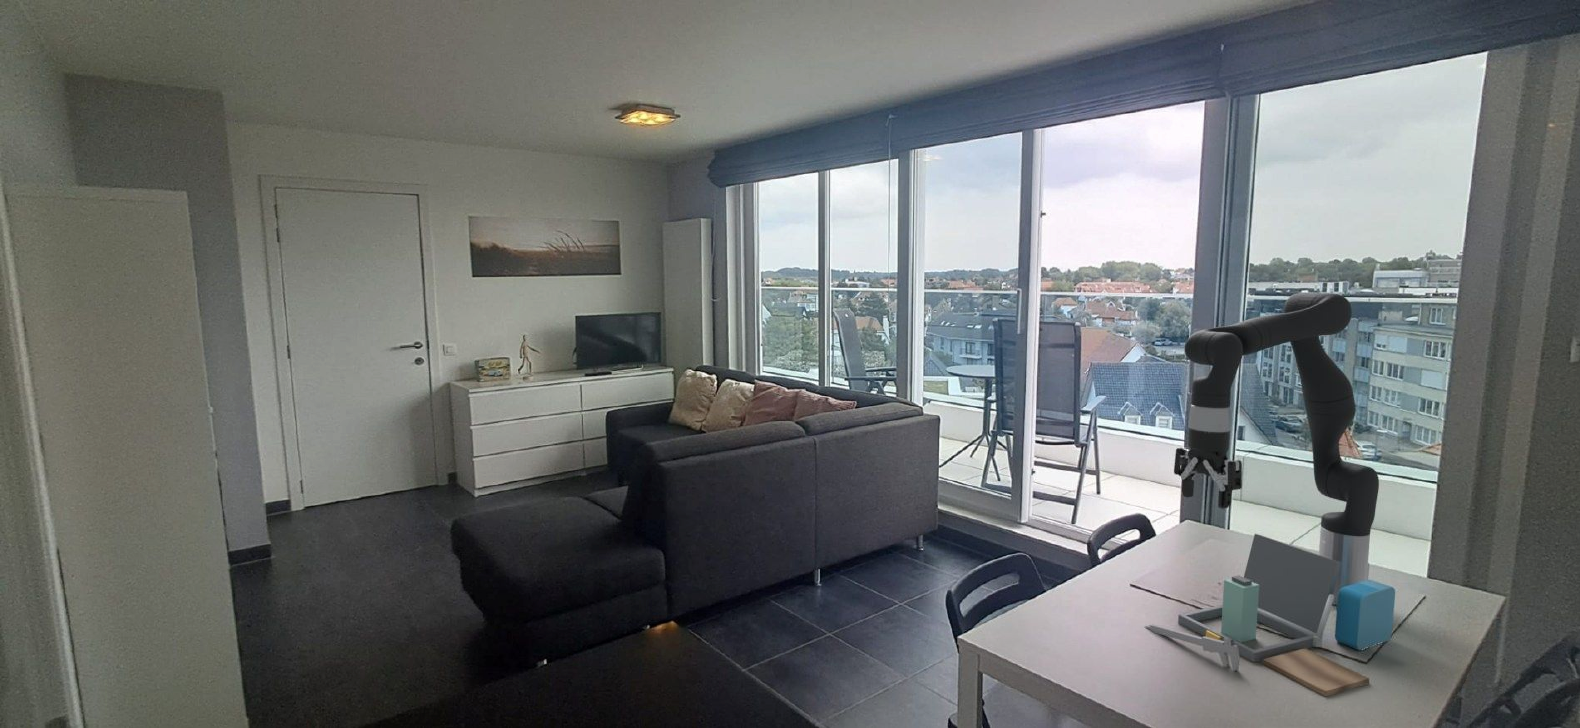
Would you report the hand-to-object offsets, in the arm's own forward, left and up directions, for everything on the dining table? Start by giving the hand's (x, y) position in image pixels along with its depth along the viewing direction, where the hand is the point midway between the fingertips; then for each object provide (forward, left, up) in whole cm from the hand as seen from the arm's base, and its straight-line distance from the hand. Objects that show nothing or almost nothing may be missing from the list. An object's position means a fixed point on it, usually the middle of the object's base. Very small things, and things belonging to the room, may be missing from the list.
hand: (1205, 502), depth 152 cm
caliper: (+7, +4, -30) cm, 31 cm away
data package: (-29, +15, -30) cm, 44 cm away
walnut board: (-7, +20, -29) cm, 36 cm away
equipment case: (-11, +4, -29) cm, 32 cm away
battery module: (-7, +4, -29) cm, 30 cm away
